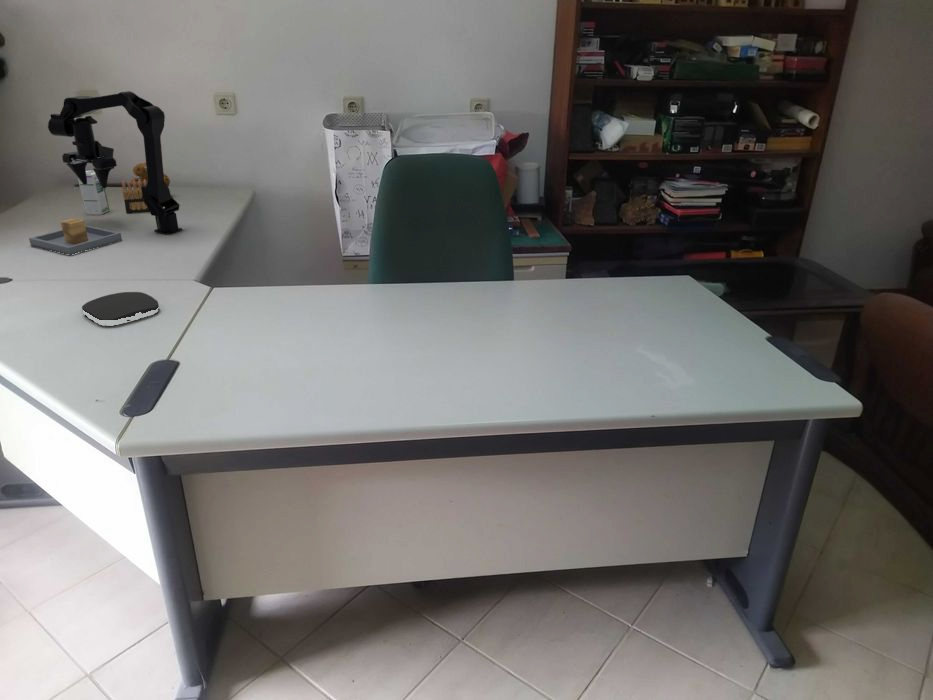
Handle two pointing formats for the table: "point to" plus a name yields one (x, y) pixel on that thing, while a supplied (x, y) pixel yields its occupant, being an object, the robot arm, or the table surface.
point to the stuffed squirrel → (144, 174)
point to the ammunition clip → (134, 197)
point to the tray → (58, 244)
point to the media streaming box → (120, 305)
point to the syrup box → (94, 195)
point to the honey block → (74, 231)
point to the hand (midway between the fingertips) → (94, 186)
